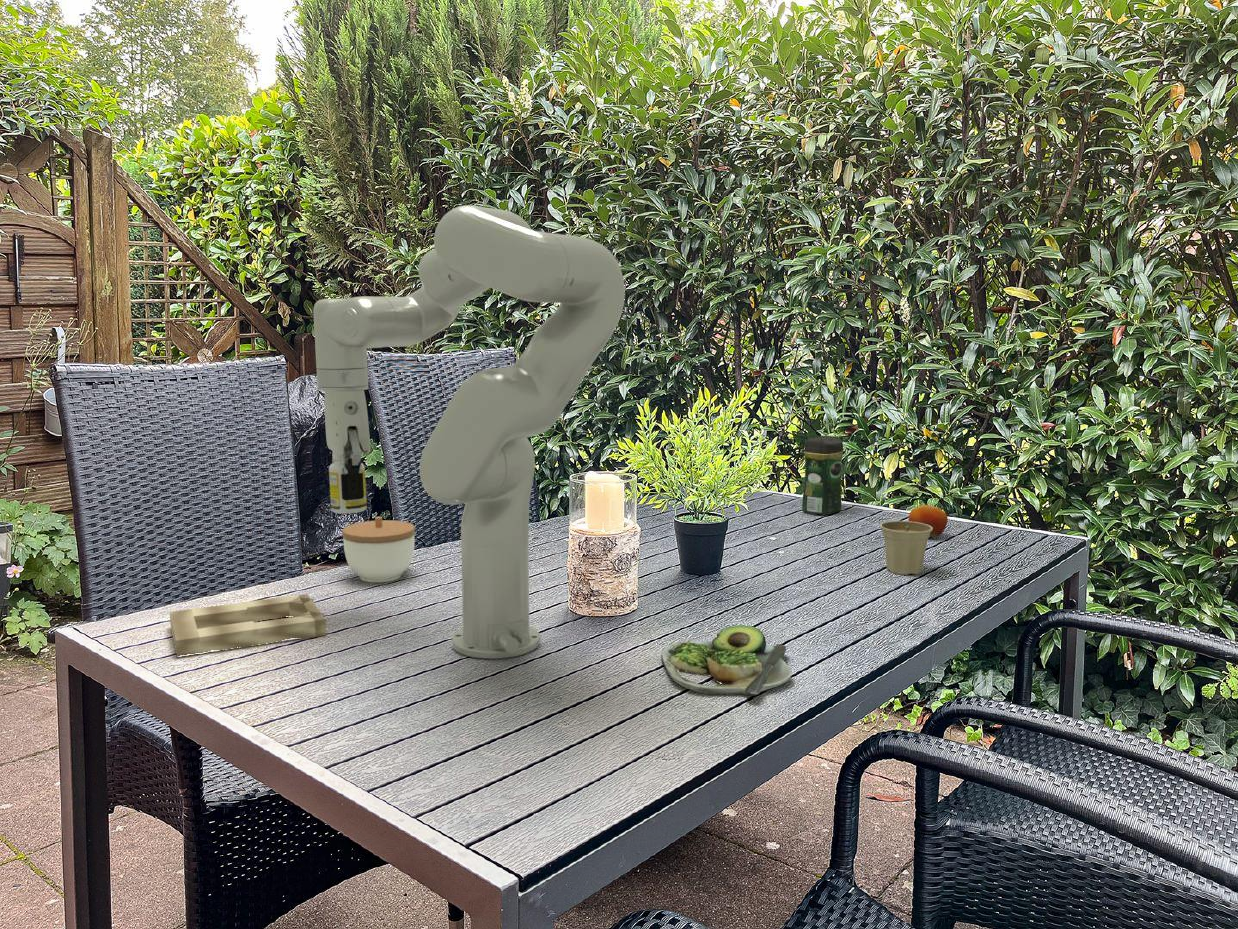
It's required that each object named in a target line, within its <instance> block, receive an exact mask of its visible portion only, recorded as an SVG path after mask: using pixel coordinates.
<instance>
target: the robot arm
mask: <svg viewBox="0 0 1238 929" xmlns="http://www.w3.org/2000/svg"><path fill="white" fill-rule="evenodd" d="M433 238H434V239H433V244H434V247H433V249H431V250H429V251H428V252H427V253H425V254H424V255H423V256H422V257H421V259H420V260H419V264H418V277H419V281H420V283H421V287H420V288H419V289H417V290H414V292H412V293H410V294H408V295H406V296H383V295H382V296H378V295H377V296H363V295H362V296H353V297H349V298H323V299H320V300H319V299H318V300H317V301H316V302H315V303H314V306H313V325H314V326H313V327H314V328H313V329H314V331H313V332H314V348H315V364H316V367H315V368H316V381H317V391H320V392H324V400H323V401H324V422H325V423H324V425H325V437H326V445H327V448H328V449H329V450H331V451H332V452H331V454H332V455H331V456H332V457H331V458H332V460H331V464H332V463H334V462H335V459H333V451H334V452H335V453H337V454H339V455H341V461H342V469H343V474H341V487H342V499H343V500H354V499H362V498H363V497H364V489H363V473H362V463H363V462H362V454H366V455H367V454H369V453H370V451H371V438H370V428H369V426H370V425H369V417H368V415H369V414H368V406H367V400H366V395H365V390H368V389H369V372H368V353H367V352H368V351H367V350H368V349H378V348H379V349H382V348H389V347H390V348H396V347H398V348H399V347H400V348H401V347H402V348H403V347H411V346H415V345H417V344H420V343H422V342H424V341H426V340H427V339H430V338H431V337H433V336H435V335H436V334H438V333H440V332H441V331H443V330H445V329H447V328H448V327H450V325H451V324H452V323H454V321H455V319H456V318H457V316H459V313H460V311H461V309H462V306H464V305H465V304H466V303H467V302H469V301H471V300H473V299H475V298H476V297H477V296H479V295H481V294H482V293H485V292H486V291H488V290H489V289H492V290H494V291H497V292H500V293H503V294H504V295H507V296H510V297H511V298H515V299H518V300H520V301H525V302H531V303H551V304H555V303H557V304H559V306H558V308H557V309H556V310H555V311H554V312H553V313H552V315H550V316H549V317H548V318H547V319H546V320H545V321H544V322H543V323H542V324H541V325H540V326H539V327H538V328H537V329H536V331H535V332H534V334H533V336H532V337H531V339H530V340H529V343H528V345H527V346H526V348H525V349H524V351H523V352H522V354H521V355H520V356H519V358H517V360H516V361H515V362H514V363H513V364H511V365H509V366H505V367H497V368H488V369H484V370H479V371H478V372H476V373H474V374H472V375H471V376H470V377H468V378H467V379H465V381H464V382H462V384H461V385H460V386H459V387H458V388H457V390H456V391H455V393H454V395H453V396H452V397H451V399H450V401H449V403H448V404H447V407H446V408H445V410H444V412H443V414H442V416H440V419H439V420H438V422H437V424H436V426H435V428H434V430H433V431H432V433H431V435H429V437H428V440H427V442H426V444H425V446H424V448H423V450H422V454H421V457H420V461H419V476H420V482H421V485H422V488H423V489H424V491H425V492H426V494H428V496H430V497H431V498H432V499H433V500H434V501H436V502H439V503H441V504H443V505H444V504H445V505H453V506H454V505H461V504H462V505H463V504H465V505H464V508H463V513H462V517H461V525H460V546H461V547H460V549H461V550H460V551H461V552H460V553H461V556H460V557H461V558H460V559H461V593H462V594H461V596H462V597H461V598H462V599H461V601H462V602H461V603H462V607H461V608H462V629H460V630H458V631H456V632H455V633H454V634H453V635H452V637H451V638H452V639H451V645H452V648H453V650H455V651H456V652H458V653H459V654H460V655H461V654H462V655H464V656H467V657H472V658H477V659H488V660H489V659H506V658H507V659H508V658H513V657H518V656H521V655H526V654H528V653H530V652H532V651H533V650H535V649H536V648H538V647H539V645H540V643H541V635H540V632H539V631H538V630H537V629H535V628H534V627H531V626H530V567H529V566H530V558H529V556H530V552H529V548H530V547H529V544H530V543H529V539H530V538H529V537H530V535H529V534H530V530H529V528H530V522H529V521H530V517H529V516H530V502H531V494H532V488H533V483H534V478H535V477H534V475H535V471H536V470H535V468H536V461H535V460H536V459H535V458H536V457H535V453H534V449H533V446H532V444H531V442H530V440H529V439H528V438H530V437H534V436H535V437H536V436H537V435H541V434H544V433H546V432H548V430H550V429H552V427H553V426H554V425H555V423H556V422H557V421H558V419H559V418H560V416H561V414H562V413H563V411H564V410H565V407H567V405H568V403H569V402H570V401H571V398H572V397H573V396H574V394H575V392H576V391H577V389H578V387H579V386H580V385H581V383H582V381H583V380H584V379H585V377H586V375H587V373H588V371H589V370H590V368H591V367H592V365H593V364H594V362H595V360H596V359H597V358H598V356H599V355H600V353H601V352H602V351H603V348H605V346H606V345H607V343H608V342H609V340H610V339H611V337H612V335H613V333H614V332H615V330H616V328H617V326H618V324H619V321H620V320H621V316H622V313H623V309H624V305H625V298H626V295H625V294H626V291H625V290H626V288H625V281H624V275H623V273H622V269H621V267H620V264H619V262H618V260H617V259H616V257H615V256H614V255H613V253H612V252H611V251H610V250H609V249H608V248H607V247H605V246H604V245H603V244H601V243H599V242H597V241H595V240H594V239H590V238H587V237H583V236H577V235H569V234H561V233H551V232H544V231H538V230H534V229H532V228H531V226H530V225H529V223H528V222H527V221H526V220H525V219H523V218H522V217H521V216H520V215H518V214H516V213H514V212H511V211H508V210H505V209H504V210H503V209H499V208H491V207H483V206H478V205H466V204H465V205H460V206H457V207H454V208H452V209H451V210H449V211H448V212H446V214H444V215H443V216H442V217H441V219H440V220H439V222H438V224H437V226H436V228H435V232H434V237H433ZM346 450H350V451H351V453H345V451H346ZM347 458H349V459H348V460H346V459H347Z"/></svg>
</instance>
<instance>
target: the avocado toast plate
mask: <svg viewBox="0 0 1238 929" xmlns="http://www.w3.org/2000/svg"><path fill="white" fill-rule="evenodd" d="M786 651H787V646H785V645H783V644H782V643H781V644H780V643H777V644H776V645H773V646H772V645H769V644H768V643H767V640H766V637H765V635H764V633H763V632H762V631H761V630H760V629H759V628H757V627H755V626H752V625H746V624H745V625H744V624H742V625H734V626H733V625H732V626H729V627H725V628H723V629H721V630H720V632H717V633H716V637H715V638H713V639H712V640H711V641H710V640H709V641H708V640H707V641H706V640H705V641H704V640H703V641H700V640H699V641H698V640H691V641H690V640H687V641H685V640H684V641H677V642H674V643H671V644H669V645H668V646H666V647H664V648H663V649H662V651H661V654H660V655H661V660H660V661H661V663H662V665H663V666H664V667H665V669H666V672H667V674H668V675H669V676H670V678H671V679H672V680H673V681H674V682H675V683H676V684H678V685H680V686H681V687H683V688H684V687H685V689H686V690H689V689H690V691H692V690H693V691H692V692H696V693H699V694H700V693H701V694H705V693H707V695H713V694H714V695H715V694H731V695H750V696H757V695H760V693H762V692H764V691H768V690H770V689H774V688H777V687H779V686H781V685H783V684H785V683H787V682H788V681H790V680H791V678H792V671H791V669H790V667H789V666H788V664H787V662H785V660H784V659H783V656H784V655H785V653H786ZM678 670H682V671H681V672H685V671H687V672H686V673H690V672H692V673H691V674H696V673H699V674H698V675H703V674H705V676H708V675H711V676H712V677H713V678H712V677H711V678H712V679H714V678H715V679H714V682H715V681H718V682H721V683H722V684H720V685H719V684H715V685H708V684H704V683H697V682H694V681H693V680H689V679H686V678H685V677H684V676H683V675H682V674H681V672H680V671H679V672H680V673H679V672H678ZM681 675H682V676H683V677H684V678H683V677H682V676H681ZM718 682H717V683H718ZM715 696H716V695H715Z"/></svg>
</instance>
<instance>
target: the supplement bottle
mask: <svg viewBox="0 0 1238 929" xmlns="http://www.w3.org/2000/svg"><path fill="white" fill-rule="evenodd" d="M332 452H333V459H335V462H334V463H332V462H331V464H330V465H329V468H328V476H329V478H328V479H329V493H330V508H331V509H330V510H331V512H332V513H335V514H356V513H360V512H364V511H366V510H367V486H366V483H367V482H366V469H365V464H364V463H363V462H362V473H363V489H364V497H363V498H362V499H354V500H343V499H342V487H341V474H343V469H342V461H341V455H339V454H337V453H335V452H334V451H332ZM345 453H351V451H350V450H346V451H345ZM348 459H349V458H347V459H346V460H348Z"/></svg>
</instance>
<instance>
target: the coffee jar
mask: <svg viewBox="0 0 1238 929" xmlns="http://www.w3.org/2000/svg"><path fill="white" fill-rule="evenodd" d="M803 448H804V449H803V455H804V463H805V464H804V465H805V466H804V481H803V482H804V484H803V492H802V504H801V505H802V506H801V510H802V511H803V512H805V513H807V514H808V515H813V516H816V515H821V516H826V515H831V514H832V515H833V514H836V513H837V512H840V511H842V459H843V454H844V443H843V439H841V438H840V437H839V436H835V435H834V436H833V435H819V436H817V437H816V436H815V437H810V438H808V439H807V440H805V441H804V447H803Z"/></svg>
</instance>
